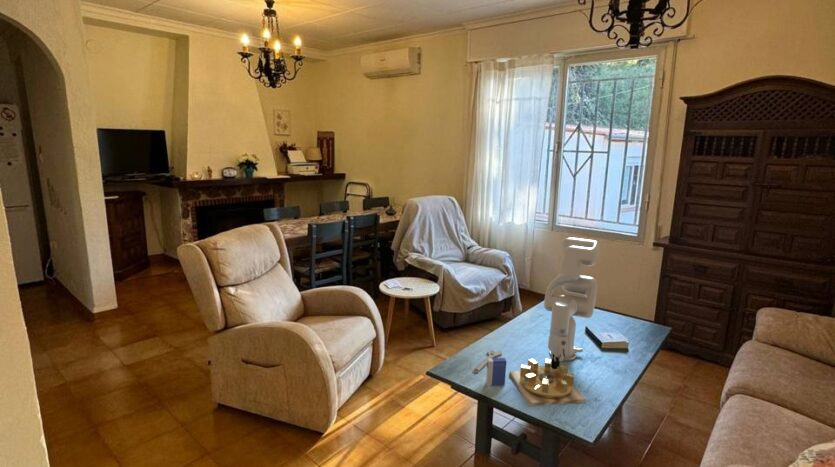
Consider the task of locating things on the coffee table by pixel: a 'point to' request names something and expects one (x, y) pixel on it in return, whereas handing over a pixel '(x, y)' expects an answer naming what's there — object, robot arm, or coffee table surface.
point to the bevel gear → (546, 380)
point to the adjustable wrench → (486, 360)
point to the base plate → (536, 400)
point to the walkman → (496, 371)
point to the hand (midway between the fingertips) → (555, 368)
